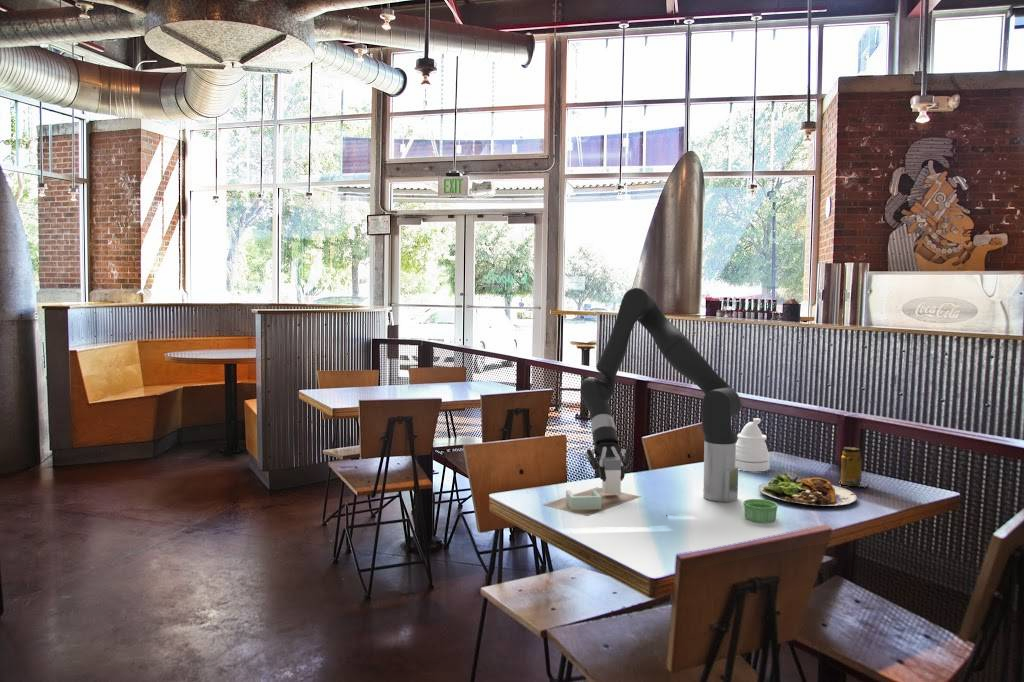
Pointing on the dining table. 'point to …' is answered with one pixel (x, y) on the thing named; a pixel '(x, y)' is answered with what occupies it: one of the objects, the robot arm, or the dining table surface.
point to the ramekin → (760, 510)
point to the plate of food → (806, 491)
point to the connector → (612, 475)
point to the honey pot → (752, 448)
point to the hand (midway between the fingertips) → (613, 479)
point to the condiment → (851, 466)
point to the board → (606, 499)
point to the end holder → (583, 501)
